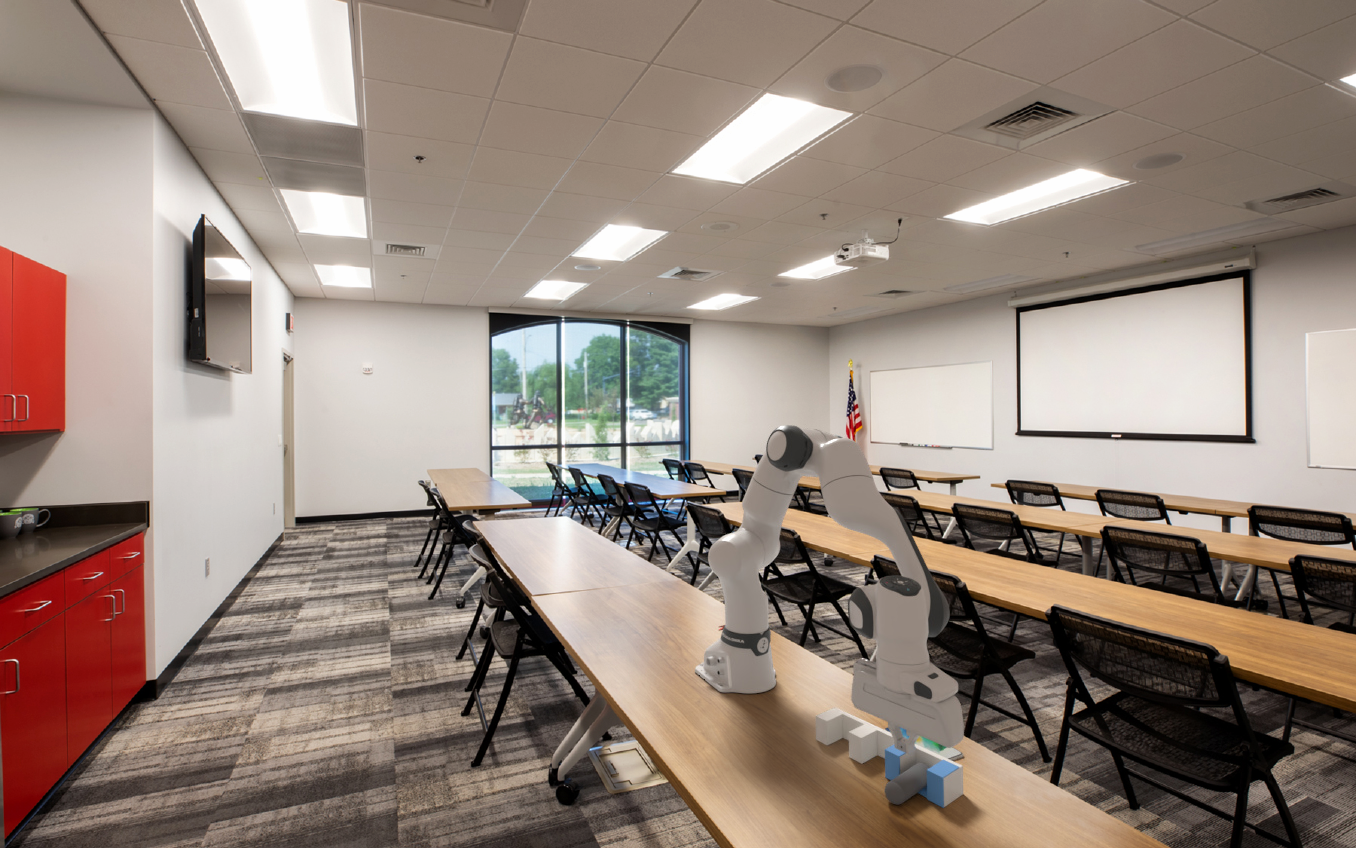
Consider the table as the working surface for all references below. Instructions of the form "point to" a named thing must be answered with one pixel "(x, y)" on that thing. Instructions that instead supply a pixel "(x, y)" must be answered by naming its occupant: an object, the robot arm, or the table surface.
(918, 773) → the gray pill-shaped peg
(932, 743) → the smartphone
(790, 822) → the table surface
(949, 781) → the white slotted rack
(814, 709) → the table surface
